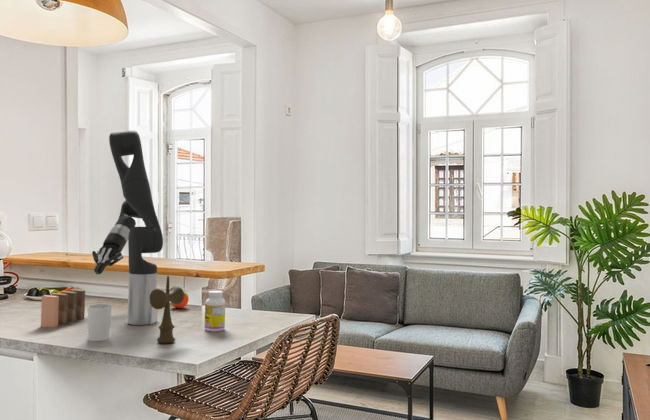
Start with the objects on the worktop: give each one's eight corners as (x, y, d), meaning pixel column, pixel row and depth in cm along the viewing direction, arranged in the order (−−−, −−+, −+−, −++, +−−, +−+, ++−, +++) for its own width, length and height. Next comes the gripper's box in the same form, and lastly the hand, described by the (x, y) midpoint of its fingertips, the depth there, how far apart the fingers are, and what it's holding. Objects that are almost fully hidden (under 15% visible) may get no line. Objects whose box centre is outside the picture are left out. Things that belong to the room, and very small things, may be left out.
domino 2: (54, 322, 185) (55, 293, 185) (67, 323, 184) (68, 294, 184) (50, 323, 183) (51, 293, 183) (63, 324, 182) (64, 294, 182)
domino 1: (44, 325, 181) (45, 295, 181) (57, 326, 180) (58, 296, 180) (40, 326, 179) (41, 295, 179) (54, 327, 178) (55, 296, 178)
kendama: (147, 344, 160) (149, 276, 160) (168, 338, 169) (170, 273, 169) (163, 347, 158) (165, 278, 158) (184, 340, 167) (186, 275, 167)
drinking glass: (93, 335, 169) (94, 303, 169) (114, 336, 169) (115, 304, 169) (82, 341, 162) (83, 307, 162) (104, 342, 162) (105, 308, 162)
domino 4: (71, 317, 194) (72, 289, 194) (84, 318, 193) (85, 290, 193) (68, 318, 192) (69, 290, 192) (81, 319, 191) (81, 291, 191)
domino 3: (63, 319, 190) (64, 291, 189) (75, 321, 188) (76, 292, 188) (59, 320, 188) (60, 291, 188) (72, 322, 187) (73, 292, 187)
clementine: (194, 308, 218) (194, 290, 218) (182, 310, 212) (183, 292, 212) (178, 306, 222) (178, 288, 222) (166, 308, 216) (167, 290, 216)
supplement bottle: (202, 328, 184) (204, 290, 184) (222, 327, 186) (223, 289, 186) (205, 332, 178) (207, 293, 178) (226, 331, 180) (227, 292, 180)
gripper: (98, 231, 214) (76, 265, 202) (128, 232, 211) (108, 267, 199) (106, 243, 219) (85, 278, 207) (136, 245, 216) (116, 280, 204)
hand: (97, 272), depth 203 cm, fingers closed
